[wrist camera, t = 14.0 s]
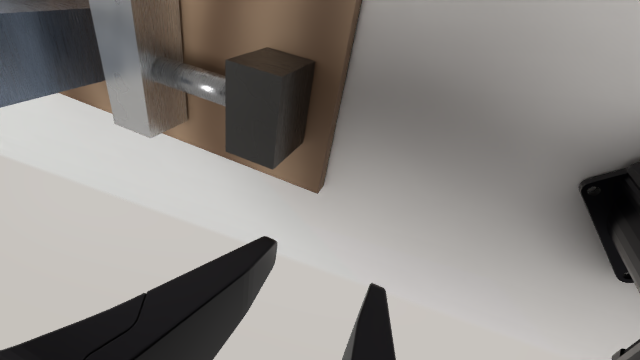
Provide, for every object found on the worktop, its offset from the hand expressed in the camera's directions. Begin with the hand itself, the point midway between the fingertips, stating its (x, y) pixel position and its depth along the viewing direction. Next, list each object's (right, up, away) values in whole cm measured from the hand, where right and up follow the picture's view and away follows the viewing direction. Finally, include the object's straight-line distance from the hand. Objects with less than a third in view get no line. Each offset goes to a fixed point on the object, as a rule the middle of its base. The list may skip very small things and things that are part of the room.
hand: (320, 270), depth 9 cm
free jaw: (-6, +9, +11) cm, 16 cm away
